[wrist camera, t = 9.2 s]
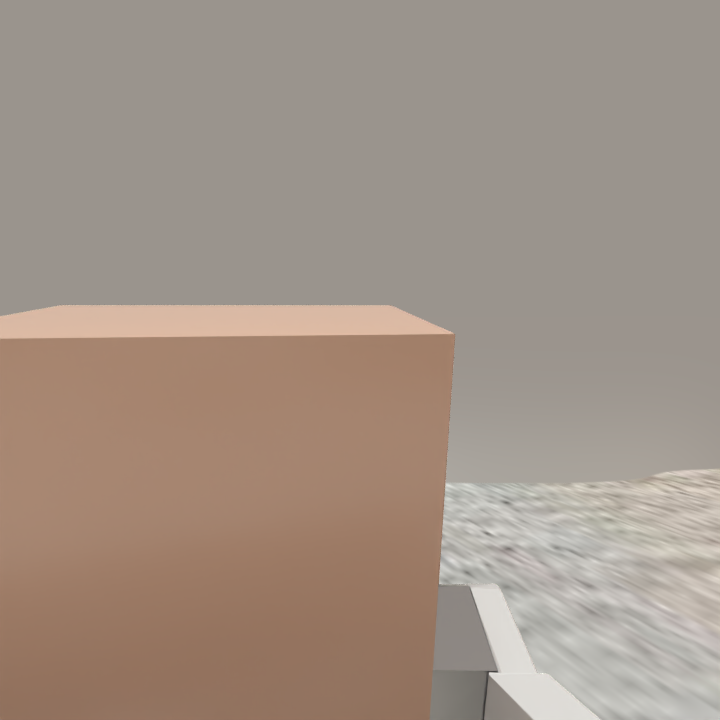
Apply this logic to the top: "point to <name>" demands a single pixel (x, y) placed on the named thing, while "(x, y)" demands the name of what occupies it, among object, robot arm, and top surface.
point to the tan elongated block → (220, 511)
